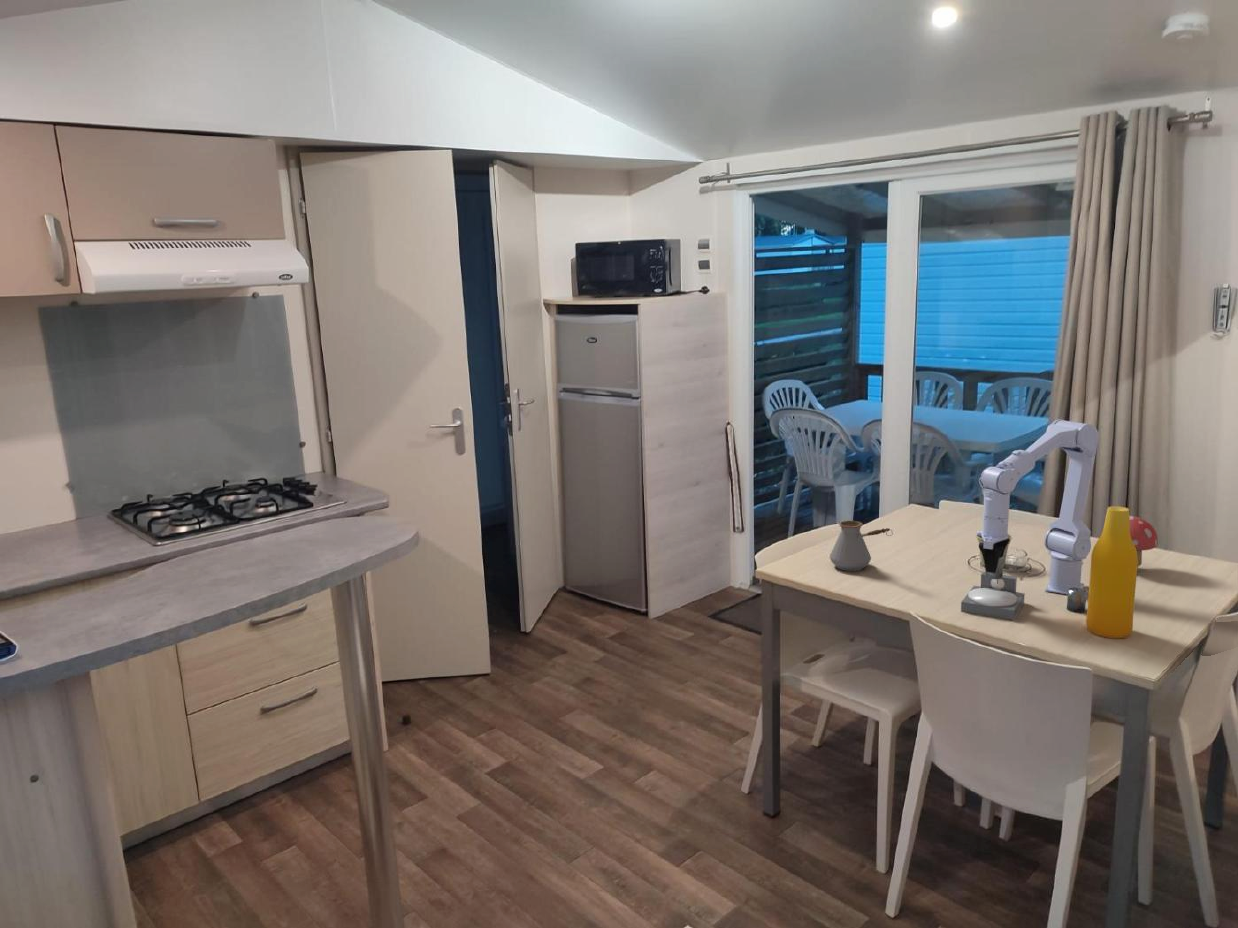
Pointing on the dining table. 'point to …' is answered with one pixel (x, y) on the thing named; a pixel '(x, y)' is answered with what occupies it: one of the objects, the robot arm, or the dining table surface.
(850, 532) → the coffee pot
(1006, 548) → the flower pot
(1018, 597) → the dial scale
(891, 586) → the dining table surface
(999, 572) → the ball
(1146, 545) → the decorative mushroom
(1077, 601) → the cylinder
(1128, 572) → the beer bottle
